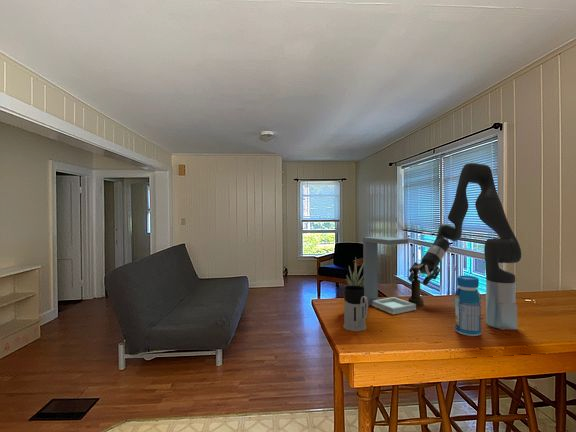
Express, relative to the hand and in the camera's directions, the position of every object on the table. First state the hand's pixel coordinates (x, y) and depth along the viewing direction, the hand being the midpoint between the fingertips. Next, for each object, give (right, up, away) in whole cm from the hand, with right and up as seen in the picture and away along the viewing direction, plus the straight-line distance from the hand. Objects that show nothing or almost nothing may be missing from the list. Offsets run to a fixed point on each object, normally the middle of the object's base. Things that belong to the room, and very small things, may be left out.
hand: (416, 282), depth 147 cm
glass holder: (-35, -11, -31) cm, 48 cm away
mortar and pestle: (0, -10, 0) cm, 10 cm away
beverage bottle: (+4, -11, -35) cm, 37 cm away
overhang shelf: (-15, -10, -5) cm, 19 cm away
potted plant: (-32, -11, -13) cm, 36 cm away
